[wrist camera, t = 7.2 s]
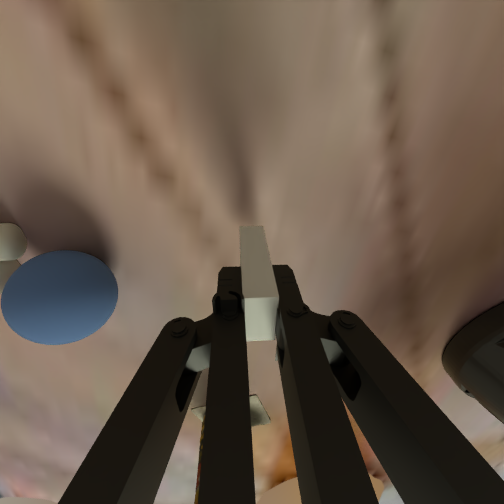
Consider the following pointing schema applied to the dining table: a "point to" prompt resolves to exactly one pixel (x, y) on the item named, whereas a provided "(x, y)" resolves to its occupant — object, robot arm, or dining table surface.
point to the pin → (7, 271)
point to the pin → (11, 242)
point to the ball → (59, 297)
